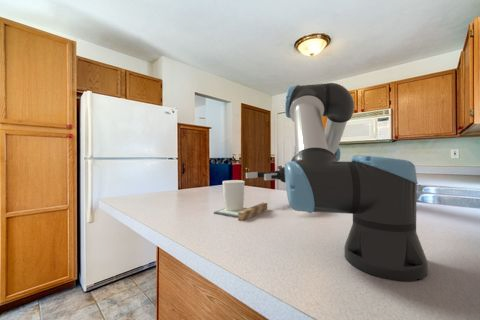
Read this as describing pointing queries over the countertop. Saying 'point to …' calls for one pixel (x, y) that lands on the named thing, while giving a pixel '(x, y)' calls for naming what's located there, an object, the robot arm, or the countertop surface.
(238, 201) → the candle holder
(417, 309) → the countertop surface
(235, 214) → the square tile
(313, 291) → the countertop surface
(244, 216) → the brown wooden bar
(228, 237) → the countertop surface
